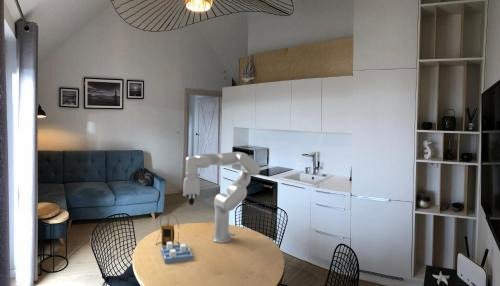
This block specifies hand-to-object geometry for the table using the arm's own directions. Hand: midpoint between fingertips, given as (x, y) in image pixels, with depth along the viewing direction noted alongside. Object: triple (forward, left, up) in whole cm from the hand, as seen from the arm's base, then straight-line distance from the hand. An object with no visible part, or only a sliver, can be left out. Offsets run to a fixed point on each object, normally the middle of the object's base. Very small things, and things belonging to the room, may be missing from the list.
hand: (191, 204), depth 206 cm
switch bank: (+11, +11, -27) cm, 31 cm away
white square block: (+14, +17, -25) cm, 34 cm away
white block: (+14, +5, -26) cm, 30 cm away
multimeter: (+12, -9, -27) cm, 31 cm away
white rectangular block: (+7, +11, -25) cm, 29 cm away
